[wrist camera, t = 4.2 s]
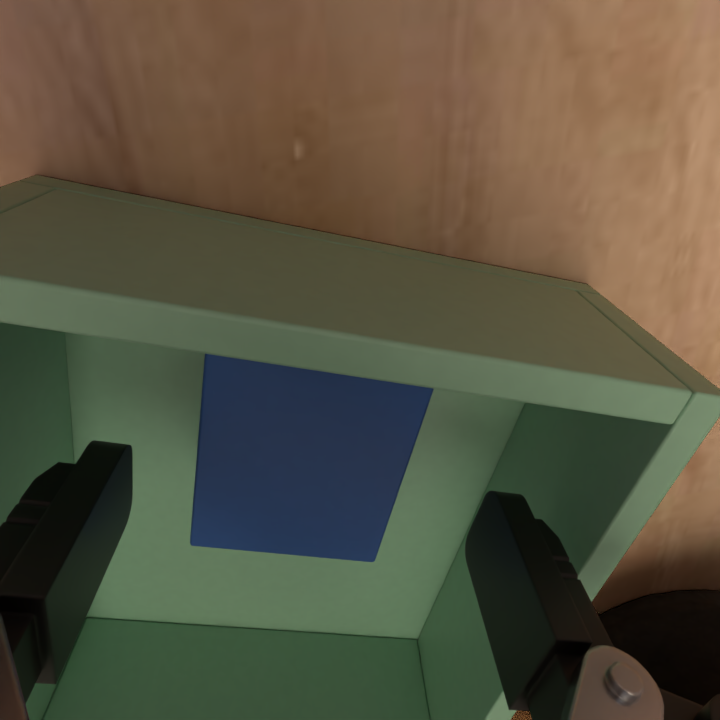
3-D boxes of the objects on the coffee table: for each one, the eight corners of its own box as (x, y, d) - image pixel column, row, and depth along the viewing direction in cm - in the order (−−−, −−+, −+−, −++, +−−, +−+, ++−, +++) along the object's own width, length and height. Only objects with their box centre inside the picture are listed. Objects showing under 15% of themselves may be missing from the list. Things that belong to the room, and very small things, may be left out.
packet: (211, 468, 16) (189, 546, 13) (228, 292, 13) (204, 347, 10) (366, 486, 17) (374, 564, 14) (415, 324, 14) (437, 383, 11)
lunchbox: (34, 174, 12) (-174, 247, 7) (589, 284, 14) (733, 399, 9) (73, 608, 20) (-12, 790, 15) (427, 632, 22) (458, 797, 17)
